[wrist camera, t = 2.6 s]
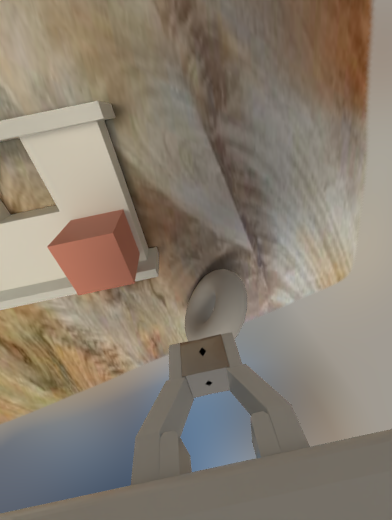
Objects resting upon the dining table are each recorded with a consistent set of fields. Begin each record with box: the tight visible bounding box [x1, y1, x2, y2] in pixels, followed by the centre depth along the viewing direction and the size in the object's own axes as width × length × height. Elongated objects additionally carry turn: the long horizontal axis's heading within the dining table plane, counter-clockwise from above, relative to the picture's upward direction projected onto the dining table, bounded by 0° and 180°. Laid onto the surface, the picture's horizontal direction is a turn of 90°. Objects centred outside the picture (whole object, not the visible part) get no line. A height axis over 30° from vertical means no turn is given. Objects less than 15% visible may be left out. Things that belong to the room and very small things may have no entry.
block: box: [47, 209, 140, 295], centre depth 20 cm, size 5×5×5 cm
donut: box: [185, 269, 247, 341], centre depth 26 cm, size 10×4×10 cm, turn 148°
